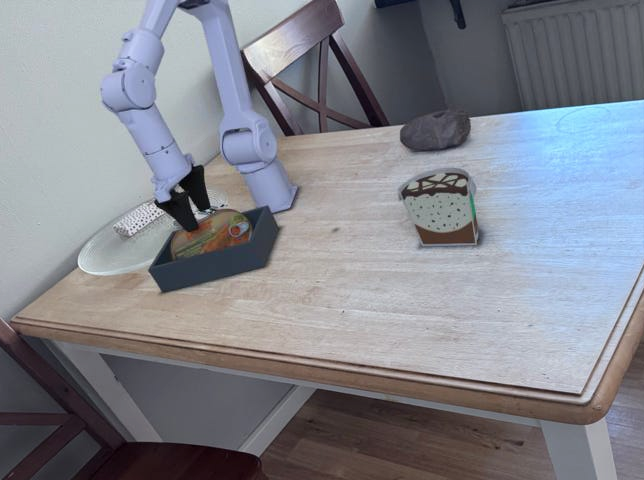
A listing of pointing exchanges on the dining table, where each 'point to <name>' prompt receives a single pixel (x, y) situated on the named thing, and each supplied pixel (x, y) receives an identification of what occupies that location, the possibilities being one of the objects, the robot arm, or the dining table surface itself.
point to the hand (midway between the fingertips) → (199, 219)
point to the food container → (442, 207)
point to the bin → (217, 256)
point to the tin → (212, 234)
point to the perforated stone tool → (436, 130)
